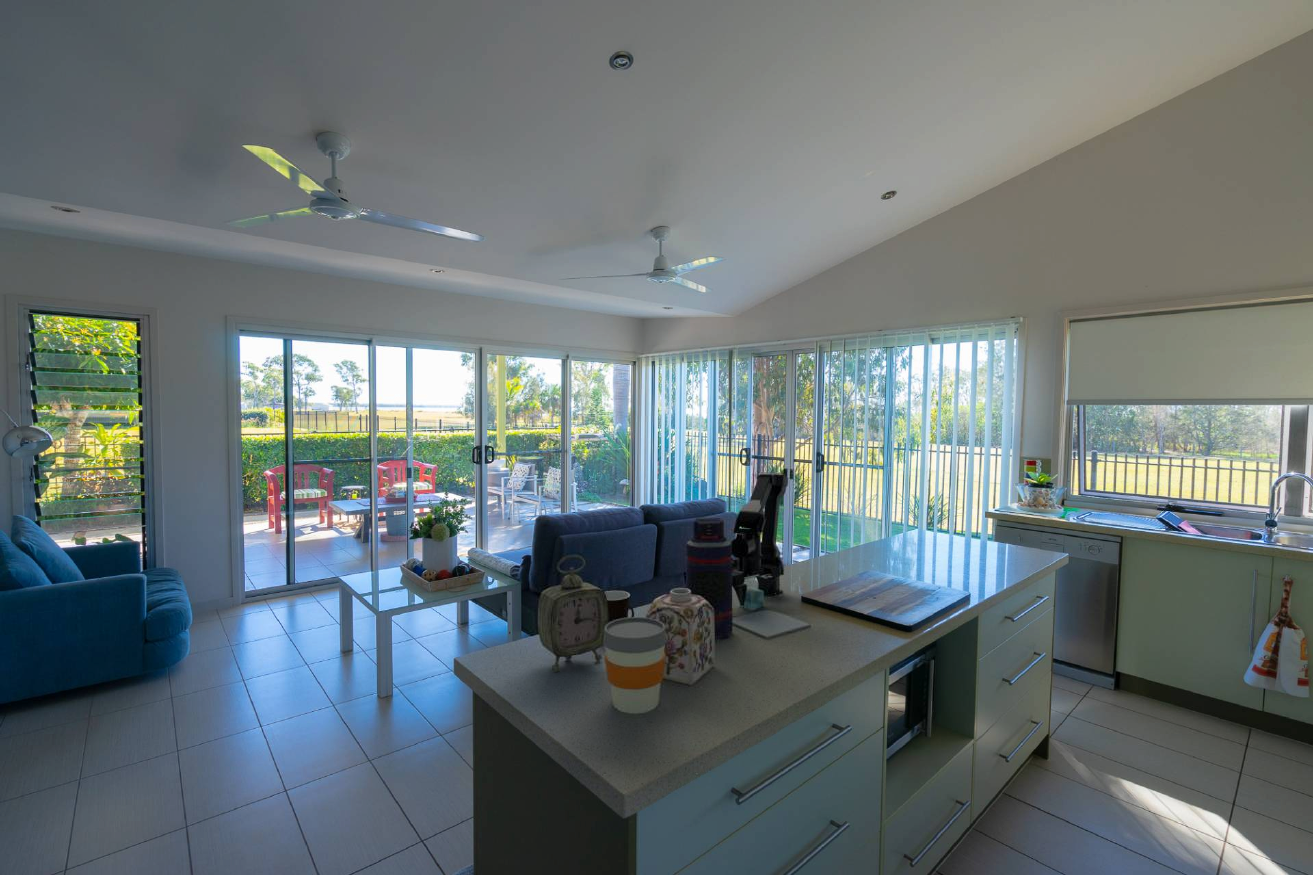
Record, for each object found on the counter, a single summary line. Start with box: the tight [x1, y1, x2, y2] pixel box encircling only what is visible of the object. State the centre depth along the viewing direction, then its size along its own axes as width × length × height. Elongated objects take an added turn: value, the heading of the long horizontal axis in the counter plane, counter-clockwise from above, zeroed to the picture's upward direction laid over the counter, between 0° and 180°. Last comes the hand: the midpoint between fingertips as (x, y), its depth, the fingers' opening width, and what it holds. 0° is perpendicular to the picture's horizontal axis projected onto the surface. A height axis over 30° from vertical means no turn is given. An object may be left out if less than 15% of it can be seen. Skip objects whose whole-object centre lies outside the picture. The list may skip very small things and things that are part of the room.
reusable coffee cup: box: [603, 616, 667, 714], centre depth 115 cm, size 13×13×15 cm
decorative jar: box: [645, 587, 716, 686], centre depth 130 cm, size 12×12×18 cm
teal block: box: [739, 586, 765, 611], centre depth 175 cm, size 5×5×5 cm
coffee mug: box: [604, 590, 635, 623], centre depth 153 cm, size 12×9×10 cm
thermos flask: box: [685, 517, 734, 641], centre depth 153 cm, size 14×12×30 cm
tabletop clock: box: [537, 554, 609, 673], centre depth 135 cm, size 14×9×25 cm, turn 123°
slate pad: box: [732, 608, 811, 640], centre depth 160 cm, size 16×16×1 cm
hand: (751, 603), depth 175 cm, fingers open, 7 cm apart
